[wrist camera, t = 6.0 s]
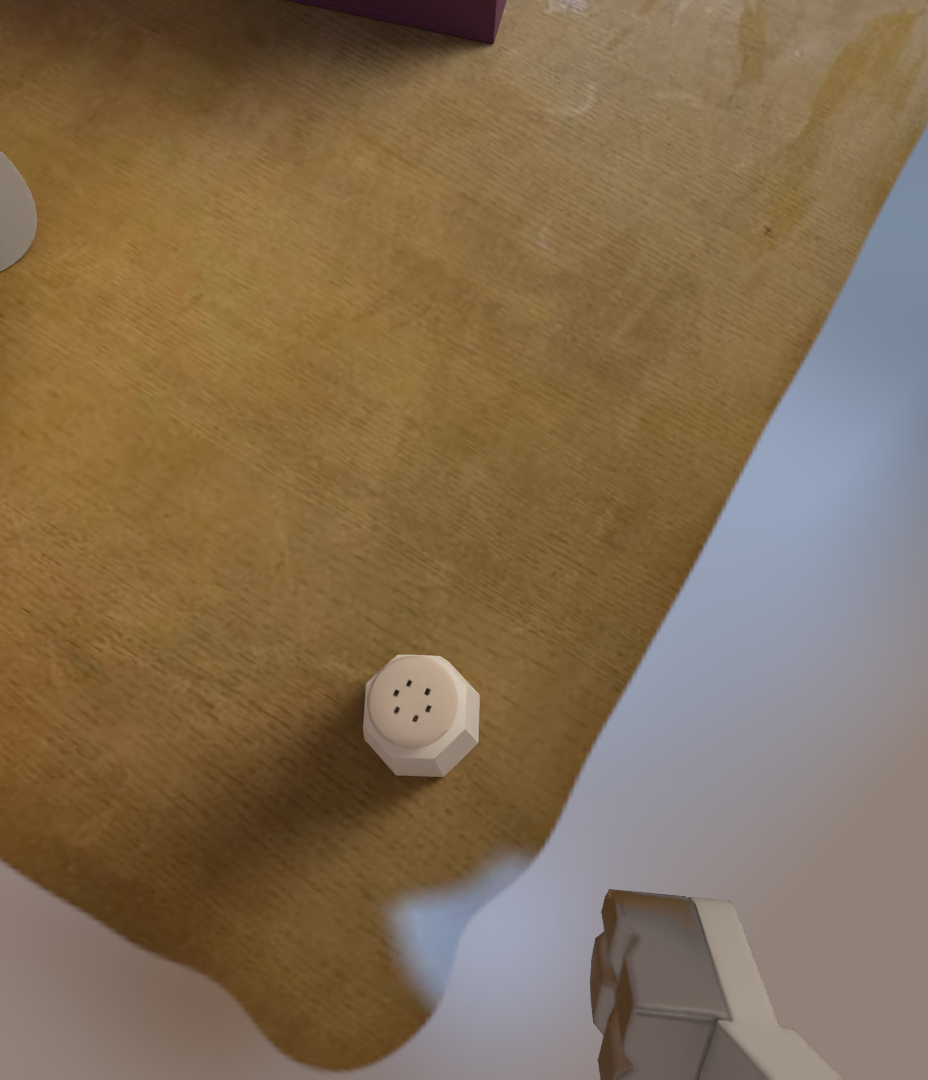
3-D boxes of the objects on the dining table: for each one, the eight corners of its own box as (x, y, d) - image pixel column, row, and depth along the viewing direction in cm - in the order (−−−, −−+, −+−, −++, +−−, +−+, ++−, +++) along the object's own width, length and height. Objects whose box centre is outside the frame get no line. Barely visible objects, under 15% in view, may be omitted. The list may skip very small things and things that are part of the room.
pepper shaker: (340, 748, 33) (291, 747, 23) (393, 636, 35) (371, 585, 24) (452, 802, 33) (456, 826, 22) (502, 686, 34) (528, 656, 24)
